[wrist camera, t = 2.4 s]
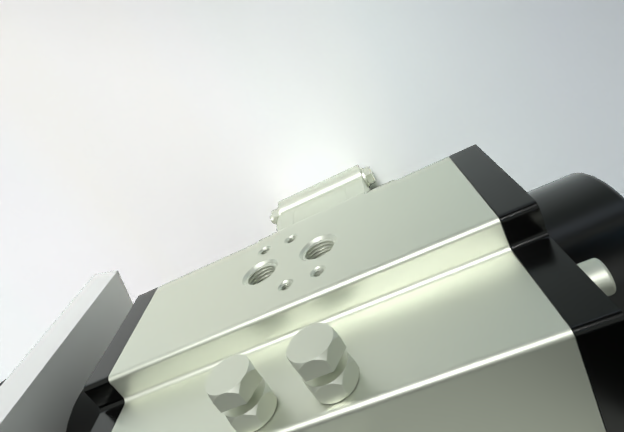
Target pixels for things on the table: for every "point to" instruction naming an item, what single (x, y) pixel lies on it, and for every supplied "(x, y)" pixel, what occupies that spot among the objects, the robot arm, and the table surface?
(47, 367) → the robot arm
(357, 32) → the table surface
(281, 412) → the pneumatic valve
